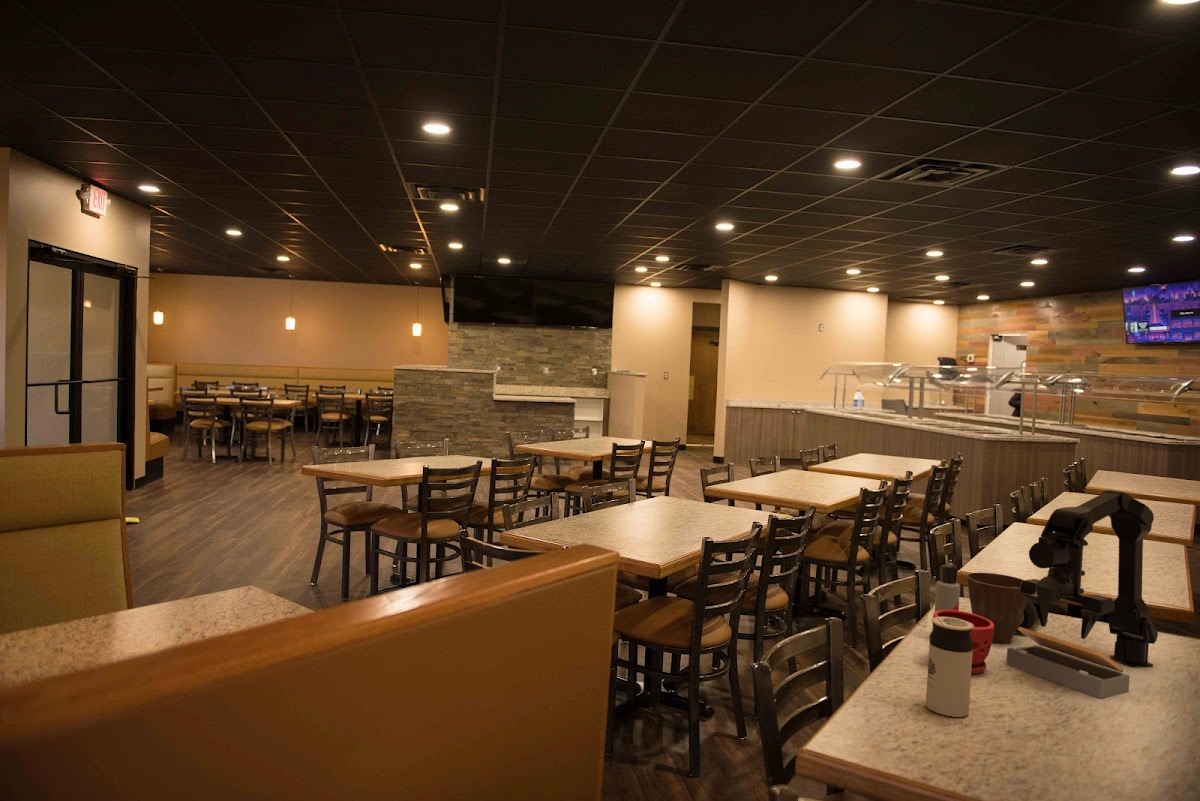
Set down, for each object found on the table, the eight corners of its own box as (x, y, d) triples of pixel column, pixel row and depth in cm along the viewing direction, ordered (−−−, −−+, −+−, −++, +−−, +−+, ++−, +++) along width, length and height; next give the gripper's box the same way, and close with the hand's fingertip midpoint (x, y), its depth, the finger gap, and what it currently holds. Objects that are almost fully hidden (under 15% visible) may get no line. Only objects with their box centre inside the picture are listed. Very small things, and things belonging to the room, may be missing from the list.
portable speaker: (1010, 612, 235) (1012, 579, 235) (1048, 619, 229) (1050, 585, 228) (990, 630, 215) (993, 594, 215) (1031, 639, 209) (1033, 602, 208)
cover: (1040, 645, 191) (1041, 641, 191) (1122, 672, 174) (1123, 668, 174) (1017, 630, 186) (1019, 626, 187) (1100, 656, 170) (1101, 652, 170)
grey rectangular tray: (1034, 658, 192) (1036, 640, 192) (1128, 691, 173) (1129, 670, 173) (1006, 664, 187) (1007, 645, 187) (1099, 698, 168) (1101, 677, 168)
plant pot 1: (930, 671, 180) (933, 620, 179) (929, 654, 192) (932, 606, 192) (993, 682, 175) (997, 629, 175) (988, 664, 187) (991, 614, 187)
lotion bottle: (959, 645, 200) (963, 568, 199) (935, 642, 201) (940, 565, 201) (953, 638, 206) (958, 563, 205) (930, 636, 207) (935, 561, 206)
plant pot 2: (1038, 650, 199) (1042, 588, 199) (979, 647, 199) (983, 585, 199) (1008, 631, 214) (1012, 574, 213) (954, 629, 214) (957, 571, 214)
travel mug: (966, 706, 160) (971, 619, 160) (970, 721, 153) (976, 630, 152) (924, 699, 163) (929, 613, 163) (927, 713, 155) (932, 624, 155)
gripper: (1007, 558, 183) (1003, 624, 183) (1088, 577, 167) (1084, 650, 167) (1036, 555, 188) (1032, 619, 189) (1118, 573, 172) (1113, 644, 172)
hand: (1063, 632), depth 179 cm, fingers open, 9 cm apart
